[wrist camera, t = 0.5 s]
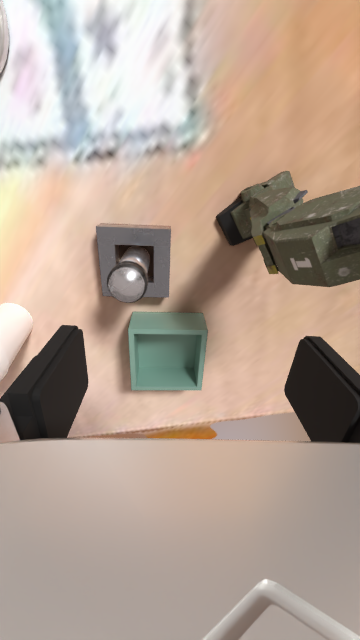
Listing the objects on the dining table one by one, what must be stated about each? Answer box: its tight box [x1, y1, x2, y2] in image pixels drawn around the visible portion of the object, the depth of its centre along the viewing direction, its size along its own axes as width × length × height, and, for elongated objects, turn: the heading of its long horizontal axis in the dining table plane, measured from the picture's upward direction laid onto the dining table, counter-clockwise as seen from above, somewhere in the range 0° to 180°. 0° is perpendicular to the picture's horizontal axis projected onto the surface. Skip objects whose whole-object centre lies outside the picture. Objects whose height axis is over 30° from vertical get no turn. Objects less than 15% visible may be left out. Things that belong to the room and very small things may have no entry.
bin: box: [128, 312, 208, 390], centre depth 44 cm, size 12×12×6 cm
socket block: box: [96, 223, 171, 297], centre depth 38 cm, size 10×10×3 cm
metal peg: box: [107, 246, 150, 303], centre depth 34 cm, size 5×5×12 cm
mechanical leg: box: [216, 171, 360, 287], centre depth 25 cm, size 14×7×30 cm, turn 121°
